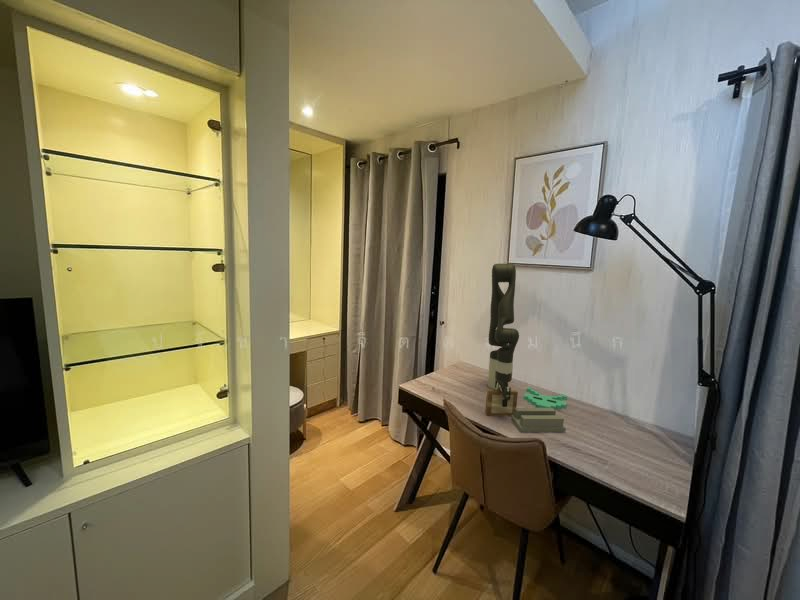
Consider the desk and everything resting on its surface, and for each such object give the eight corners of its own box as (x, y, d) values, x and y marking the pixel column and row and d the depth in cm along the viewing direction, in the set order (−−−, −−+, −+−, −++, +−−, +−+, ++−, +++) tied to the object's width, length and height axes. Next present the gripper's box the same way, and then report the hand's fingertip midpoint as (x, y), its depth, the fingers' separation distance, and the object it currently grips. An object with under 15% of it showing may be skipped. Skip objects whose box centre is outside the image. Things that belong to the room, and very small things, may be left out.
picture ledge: (511, 419, 158) (512, 407, 157) (552, 419, 159) (554, 407, 158) (520, 432, 147) (521, 419, 146) (565, 432, 148) (566, 419, 147)
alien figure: (527, 390, 190) (521, 405, 173) (527, 387, 190) (522, 401, 173) (566, 399, 181) (565, 415, 164) (566, 395, 181) (565, 410, 163)
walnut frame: (485, 413, 163) (486, 389, 161) (513, 413, 163) (515, 389, 161) (486, 416, 160) (488, 392, 158) (515, 416, 161) (517, 392, 159)
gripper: (491, 364, 165) (488, 395, 168) (501, 375, 151) (498, 409, 154) (506, 364, 165) (503, 395, 168) (517, 375, 151) (514, 409, 154)
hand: (501, 402), depth 161 cm, fingers open, 8 cm apart
